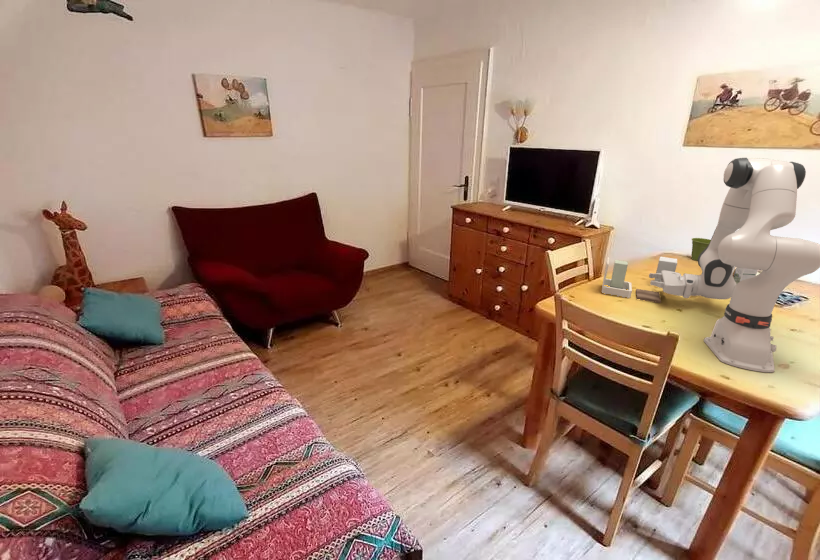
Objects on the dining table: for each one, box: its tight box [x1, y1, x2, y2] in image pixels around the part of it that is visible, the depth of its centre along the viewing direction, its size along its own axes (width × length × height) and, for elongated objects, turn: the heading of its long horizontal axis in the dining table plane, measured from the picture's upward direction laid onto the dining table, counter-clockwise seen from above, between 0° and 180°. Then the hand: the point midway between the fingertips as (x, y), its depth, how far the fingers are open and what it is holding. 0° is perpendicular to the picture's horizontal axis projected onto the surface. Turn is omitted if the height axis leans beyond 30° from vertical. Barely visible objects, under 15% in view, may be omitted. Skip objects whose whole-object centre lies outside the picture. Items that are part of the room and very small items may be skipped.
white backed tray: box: [601, 256, 633, 299], centre depth 183 cm, size 12×12×14 cm
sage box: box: [610, 259, 629, 289], centre depth 183 cm, size 5×5×14 cm
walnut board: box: [635, 288, 662, 304], centre depth 180 cm, size 11×9×1 cm
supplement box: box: [653, 256, 678, 282], centre depth 192 cm, size 7×7×13 cm
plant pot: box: [690, 237, 711, 262], centre depth 228 cm, size 12×12×11 cm
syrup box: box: [733, 267, 758, 283], centre depth 181 cm, size 6×6×14 cm
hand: (649, 278), depth 177 cm, fingers open, 8 cm apart
